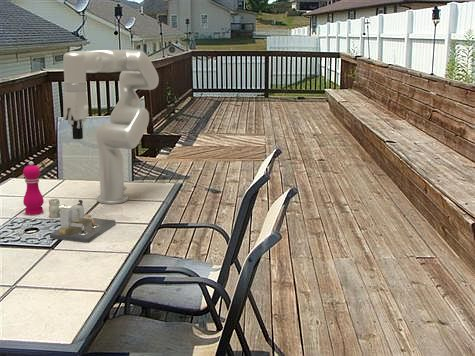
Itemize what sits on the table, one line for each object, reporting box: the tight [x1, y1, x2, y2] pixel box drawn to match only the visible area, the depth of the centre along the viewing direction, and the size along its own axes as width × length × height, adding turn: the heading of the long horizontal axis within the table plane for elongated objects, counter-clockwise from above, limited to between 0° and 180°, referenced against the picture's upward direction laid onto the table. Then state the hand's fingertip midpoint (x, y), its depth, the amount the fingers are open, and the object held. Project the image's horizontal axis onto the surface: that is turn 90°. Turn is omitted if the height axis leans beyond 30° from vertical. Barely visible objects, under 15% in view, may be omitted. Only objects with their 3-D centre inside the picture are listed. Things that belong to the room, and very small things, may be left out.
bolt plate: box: [49, 209, 116, 244], centre depth 199 cm, size 20×14×9 cm
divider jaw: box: [70, 204, 94, 226], centre depth 200 cm, size 3×8×6 cm, turn 76°
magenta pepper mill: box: [22, 160, 45, 216], centre depth 216 cm, size 7×7×20 cm
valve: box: [48, 198, 84, 219], centre depth 214 cm, size 7×7×12 cm
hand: (77, 138), depth 210 cm, fingers closed
